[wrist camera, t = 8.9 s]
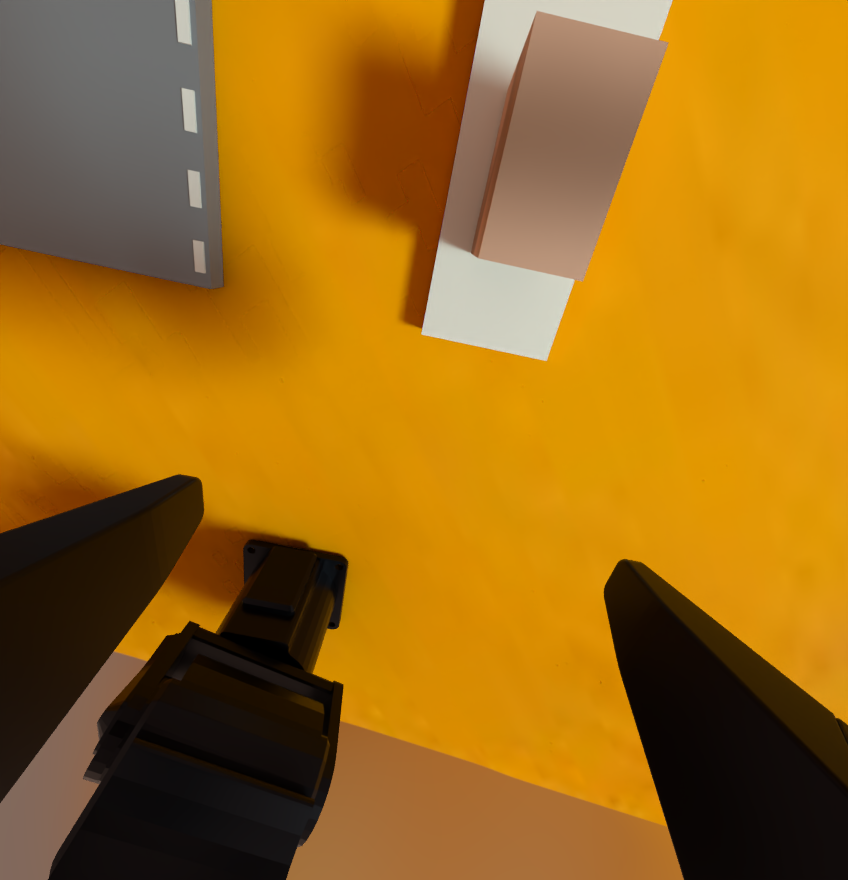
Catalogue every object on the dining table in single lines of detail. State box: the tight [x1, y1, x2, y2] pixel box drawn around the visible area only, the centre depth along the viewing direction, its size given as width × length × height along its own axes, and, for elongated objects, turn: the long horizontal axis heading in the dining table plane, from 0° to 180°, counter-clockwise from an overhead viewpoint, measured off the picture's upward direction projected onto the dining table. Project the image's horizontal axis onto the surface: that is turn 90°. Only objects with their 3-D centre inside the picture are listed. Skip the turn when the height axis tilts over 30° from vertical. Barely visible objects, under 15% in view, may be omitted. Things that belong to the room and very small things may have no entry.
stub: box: [422, 0, 672, 361], centre depth 12 cm, size 12×6×6 cm, turn 169°
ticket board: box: [0, 0, 224, 289], centre depth 14 cm, size 12×12×1 cm
